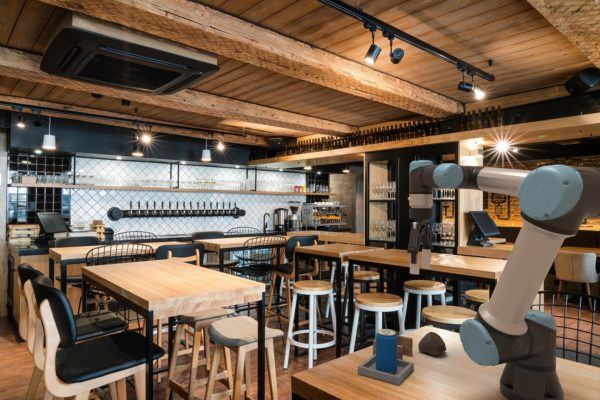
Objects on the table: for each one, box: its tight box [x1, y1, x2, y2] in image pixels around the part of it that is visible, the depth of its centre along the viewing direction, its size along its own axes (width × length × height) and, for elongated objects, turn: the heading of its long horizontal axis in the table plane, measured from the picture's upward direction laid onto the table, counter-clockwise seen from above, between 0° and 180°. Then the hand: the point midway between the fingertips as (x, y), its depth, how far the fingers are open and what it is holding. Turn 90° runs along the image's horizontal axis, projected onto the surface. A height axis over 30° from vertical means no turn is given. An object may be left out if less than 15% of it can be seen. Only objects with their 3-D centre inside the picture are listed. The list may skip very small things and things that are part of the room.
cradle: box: [372, 334, 414, 360], centre depth 134 cm, size 10×10×6 cm
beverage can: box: [375, 328, 398, 374], centre depth 122 cm, size 6×6×12 cm
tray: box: [357, 353, 415, 387], centre depth 122 cm, size 13×13×2 cm
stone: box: [417, 331, 447, 356], centre depth 138 cm, size 10×8×10 cm
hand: (420, 271), depth 131 cm, fingers open, 13 cm apart
